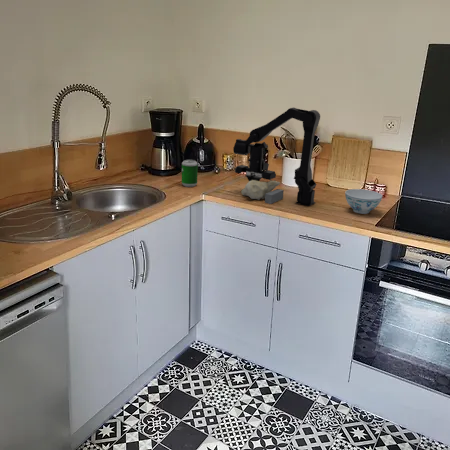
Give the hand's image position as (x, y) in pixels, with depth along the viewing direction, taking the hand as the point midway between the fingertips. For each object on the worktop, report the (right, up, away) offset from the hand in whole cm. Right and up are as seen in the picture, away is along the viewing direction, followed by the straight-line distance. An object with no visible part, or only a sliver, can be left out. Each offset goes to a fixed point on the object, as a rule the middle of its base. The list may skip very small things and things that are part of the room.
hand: (253, 190), depth 211 cm
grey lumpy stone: (+3, -4, -3) cm, 6 cm away
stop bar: (+8, -5, -7) cm, 12 cm away
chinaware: (+44, -10, -17) cm, 48 cm away
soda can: (-31, +3, +11) cm, 33 cm away
